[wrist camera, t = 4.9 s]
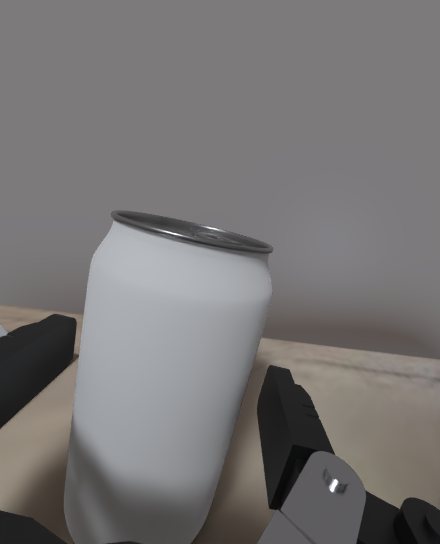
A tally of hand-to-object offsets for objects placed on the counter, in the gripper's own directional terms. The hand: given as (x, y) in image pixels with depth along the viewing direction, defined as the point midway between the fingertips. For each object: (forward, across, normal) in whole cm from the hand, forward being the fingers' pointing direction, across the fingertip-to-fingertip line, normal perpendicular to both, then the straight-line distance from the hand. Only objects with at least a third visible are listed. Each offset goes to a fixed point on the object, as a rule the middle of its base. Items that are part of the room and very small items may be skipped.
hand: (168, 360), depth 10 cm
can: (0, 0, +7) cm, 7 cm away
